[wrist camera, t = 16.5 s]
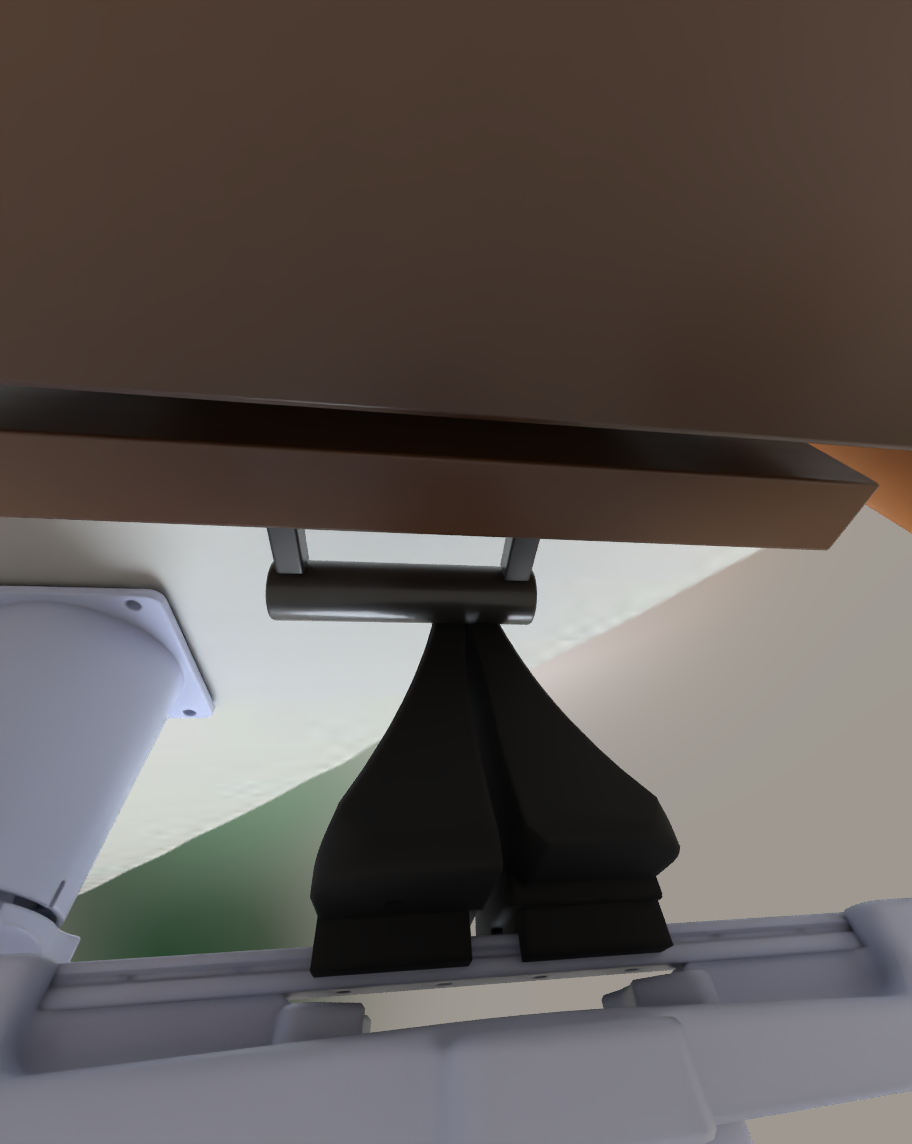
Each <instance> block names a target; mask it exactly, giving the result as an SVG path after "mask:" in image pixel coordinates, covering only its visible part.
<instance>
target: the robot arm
mask: <svg viewBox="0 0 912 1144" xmlns="http://www.w3.org/2000/svg"><path fill="white" fill-rule="evenodd" d="M214 709H215V705H214V703H213V701H212V699H211V697H210V694H209V692H208V690H207V688H206V686H205V683H204V681H203V679H202V677H201V674H200V672H199V670H198V668H197V666H196V663H195V661H194V659H193V657H192V655H191V652H190V650H189V648H188V646H187V643H186V641H185V639H184V637H183V635H182V632H181V630H180V628H179V626H178V624H177V621H176V619H175V617H174V615H173V612H172V610H171V608H170V606H169V604H168V601H167V599H166V598H165V597H164V595H163V594H161V593H160V592H158V591H155V590H151V589H123V588H82V587H41V586H0V1144H753V1142H752V1139H751V1136H750V1134H749V1131H748V1128H747V1125H746V1123H745V1120H748V1119H753V1118H759V1117H765V1116H771V1115H776V1114H782V1113H787V1112H794V1111H799V1110H805V1109H811V1108H816V1107H821V1106H828V1105H834V1104H839V1103H845V1102H851V1101H857V1100H862V1099H868V1098H874V1097H880V1096H886V1095H891V1094H897V1093H903V1092H909V1091H912V898H902V899H886V900H874V901H868V902H864V903H860V904H857V905H854V906H852V907H850V908H847V909H846V910H845V911H844V912H841V913H826V914H810V915H795V916H780V917H765V918H748V919H733V920H719V921H718V920H717V921H703V922H687V923H671V924H666V922H665V919H664V916H663V914H662V911H661V908H660V905H659V902H658V900H660V899H661V898H662V892H661V889H660V886H659V883H658V881H657V878H656V876H657V875H658V874H659V873H660V872H662V871H663V870H664V869H665V868H667V867H668V866H669V865H670V864H671V863H673V861H674V860H675V859H676V858H677V857H678V854H679V851H680V845H679V844H678V841H677V838H676V836H675V833H674V831H673V829H672V826H671V824H670V822H669V820H668V818H667V816H666V814H665V812H664V811H663V809H662V807H661V805H660V803H659V801H658V799H657V797H656V796H654V795H653V794H652V793H651V792H649V791H648V790H647V789H646V788H644V787H643V786H642V785H641V784H639V783H638V782H637V781H636V780H634V779H633V778H632V777H631V776H630V775H628V774H627V773H626V772H624V771H623V770H622V769H621V768H619V766H617V765H616V764H615V763H614V762H613V761H612V760H611V759H610V758H609V757H607V756H606V755H605V754H604V753H603V752H602V751H601V750H600V749H599V748H598V747H596V745H595V744H594V743H593V742H592V741H591V740H590V739H589V738H588V737H586V735H585V734H584V733H582V732H581V731H580V729H579V728H578V727H577V726H576V725H574V723H573V722H572V721H571V720H570V719H569V718H568V717H567V716H566V715H565V714H564V713H563V712H562V711H561V709H560V708H559V707H558V706H557V705H556V704H555V703H554V702H553V700H552V699H551V698H550V697H549V695H548V694H547V693H546V692H545V690H544V689H543V688H542V687H541V685H540V684H539V683H538V682H537V680H536V679H535V678H534V676H533V675H532V674H531V672H530V671H529V669H528V668H527V667H526V665H525V664H524V662H523V661H522V659H521V658H520V656H519V655H518V654H517V652H516V650H515V649H514V647H513V646H512V644H511V642H510V641H509V639H508V638H507V636H506V634H505V633H504V631H503V629H502V628H501V626H500V624H462V623H432V628H431V631H430V634H429V638H428V641H427V644H426V647H425V650H424V653H423V656H422V658H421V661H420V663H419V666H418V669H417V671H416V674H415V676H414V678H413V681H412V683H411V685H410V687H409V689H408V691H407V694H406V696H405V698H404V700H403V702H402V704H401V706H400V707H399V709H398V711H397V713H396V715H395V717H394V719H393V721H392V722H391V724H390V726H389V728H388V730H387V731H386V733H385V735H384V736H383V738H382V740H381V741H380V743H379V744H378V746H377V748H376V749H375V751H374V752H373V754H372V756H371V757H370V759H369V760H368V762H367V763H366V765H365V766H364V768H363V770H362V771H361V772H360V774H359V775H358V777H357V778H356V779H355V781H354V782H353V784H352V785H351V786H350V788H349V789H348V791H347V792H346V794H345V795H344V796H343V798H342V799H341V801H340V802H339V804H338V806H337V809H336V811H335V813H334V815H333V818H332V820H331V822H330V824H329V826H328V828H327V831H326V833H325V835H324V838H323V840H322V843H321V846H320V849H319V851H318V854H317V858H316V862H315V866H314V872H313V879H312V885H311V894H310V898H311V901H312V903H313V906H314V908H315V911H316V913H317V916H318V918H317V924H316V932H315V938H314V945H313V947H302V948H287V949H270V950H255V951H240V952H224V953H209V954H193V955H179V956H163V957H148V958H132V959H116V960H101V961H85V962H71V963H69V962H70V960H71V958H72V956H73V954H74V952H75V950H76V948H77V945H78V943H79V941H80V937H79V936H75V935H71V934H68V933H66V932H63V931H61V930H60V929H58V928H60V927H61V926H62V925H63V923H64V920H65V919H66V916H67V915H68V913H69V911H70V909H71V907H72V905H73V903H74V901H75V899H76V897H77V895H78V893H79V891H80V889H81V887H82V885H83V883H84V881H85V879H86V877H87V875H88V873H89V871H90V869H91V868H92V866H93V864H94V862H95V860H96V858H97V856H98V854H99V852H100V850H101V848H102V846H103V844H104V842H105V840H106V838H107V836H108V834H109V832H110V830H111V828H112V826H113V824H114V822H115V820H116V818H117V816H118V814H119V812H120V810H121V808H122V806H123V804H124V802H125V800H126V799H127V797H128V795H129V793H130V791H131V789H132V787H133V785H134V783H135V781H136V779H137V777H138V775H139V773H140V771H141V769H142V767H143V765H144V763H145V761H146V759H147V757H148V755H149V753H150V751H151V749H152V747H153V745H154V743H155V741H156V739H157V737H158V735H159V733H160V731H161V730H162V728H163V726H164V724H165V722H166V720H167V718H207V717H210V716H211V715H212V714H213V712H214ZM474 917H475V918H476V936H471V931H470V925H471V923H472V921H473V919H474ZM664 970H673V972H672V973H671V974H665V975H659V976H654V977H648V978H642V979H636V980H633V981H632V983H631V984H630V985H629V986H627V987H625V988H623V989H621V990H618V991H615V992H612V993H609V994H606V995H604V996H603V998H602V1003H603V1007H604V1009H591V1010H577V1011H564V1012H552V1013H541V1014H530V1015H519V1016H509V1017H499V1018H489V1019H480V1020H472V1021H463V1022H454V1023H446V1024H438V1025H430V1026H422V1027H414V1028H406V1029H397V1030H390V1031H381V1032H373V1033H370V1026H371V1020H370V1018H369V1017H368V1016H367V1015H364V1013H365V1012H364V1011H365V1008H364V1006H363V1005H362V1003H332V1002H327V1003H326V1002H306V1003H296V1004H291V1003H290V1002H289V1001H288V1000H293V999H306V998H318V997H331V996H344V995H357V994H370V993H383V992H395V991H408V990H420V989H433V988H446V987H459V986H471V985H485V984H498V983H510V982H523V981H536V980H549V979H560V978H574V977H587V976H600V975H613V974H625V973H638V972H651V971H664Z"/></svg>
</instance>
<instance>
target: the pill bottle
mask: <svg viewBox="0 0 912 1144" xmlns="http://www.w3.org/2000/svg"><path fill="white" fill-rule="evenodd" d="M808 444H810V445H812V446H813V447H815V448H817V449H819V450H820V451H822V452H824V453H826V454H827V455H829V456H831V457H833V458H835V459H836V460H838V461H840V462H842V463H843V464H845V465H847V466H849V467H850V468H852V469H854V470H856V471H857V472H859V473H861V474H863V475H865V476H866V477H868V478H870V479H872V480H873V481H875V482H877V483H878V484H879V487H878V489H877V490H876V491H875V492H874V494H873V495H872V496H871V497H870V499H869V500H868V501H867V502H866V505H867V506H869V507H870V508H872V509H874V510H875V511H877V512H878V513H880V514H882V515H883V516H885V517H886V518H888V519H889V520H891V521H893V522H894V523H896V524H897V525H899V526H900V527H902V528H904V529H905V530H907V531H908V532H910V533H912V451H910V450H896V449H882V448H868V447H854V446H840V445H827V444H813V443H808Z"/></svg>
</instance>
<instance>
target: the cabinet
mask: <svg viewBox="0 0 912 1144" xmlns="http://www.w3.org/2000/svg"><path fill="white" fill-rule="evenodd" d="M0 385H8V386H22V387H36V388H50V389H64V390H78V391H91V392H105V393H119V394H133V395H147V396H161V397H175V398H189V399H202V400H216V401H230V402H244V403H258V404H272V405H286V406H300V407H313V408H327V409H341V410H355V411H369V412H383V413H397V414H410V415H424V416H438V417H452V418H466V419H480V420H494V421H508V422H521V423H535V424H549V425H563V426H577V427H591V428H605V429H619V430H632V431H646V432H660V433H674V434H688V435H702V436H716V437H730V438H743V439H757V440H771V441H785V442H799V443H813V444H827V445H840V446H854V447H868V448H882V449H896V450H910V451H912V0H0Z"/></svg>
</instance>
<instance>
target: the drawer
mask: <svg viewBox="0 0 912 1144" xmlns="http://www.w3.org/2000/svg"><path fill="white" fill-rule="evenodd" d="M878 487H879V484H878V483H877V482H875V481H873V480H872V479H870V478H868V477H866V476H865V475H863V474H861V473H859V472H857V471H856V470H854V469H852V468H850V467H849V466H847V465H845V464H843V463H842V462H840V461H838V460H836V459H835V458H833V457H831V456H829V455H827V454H826V453H824V452H822V451H820V450H819V449H817V448H815V447H813V446H812V445H810V444H808V443H799V442H785V441H771V440H757V439H743V438H730V437H716V436H702V435H688V434H674V433H660V432H646V431H632V430H619V429H605V428H591V427H577V426H563V425H549V424H535V423H521V422H508V421H494V420H480V419H466V418H452V417H438V416H424V415H410V414H397V413H383V412H369V411H355V410H341V409H327V408H313V407H300V406H286V405H272V404H258V403H244V402H230V401H216V400H202V399H189V398H175V397H161V396H147V395H133V394H119V393H105V392H91V391H78V390H64V389H50V388H36V387H22V386H8V385H0V517H20V518H44V519H69V520H93V521H118V522H143V523H167V524H192V525H216V526H241V527H265V528H267V532H268V536H269V541H270V545H271V550H272V554H273V559H274V562H273V563H272V564H271V566H270V569H269V572H268V576H267V582H266V605H267V610H268V613H269V616H270V617H271V619H273V620H288V621H346V622H404V623H462V624H520V625H528V624H530V623H531V622H532V620H533V618H534V615H535V610H536V603H537V586H536V580H535V576H534V573H533V571H532V566H533V563H534V559H535V555H536V551H537V548H538V544H539V540H540V539H560V540H584V541H609V542H633V543H658V544H682V545H707V546H731V547H756V548H781V549H806V550H827V549H829V548H830V547H831V546H832V545H833V543H834V542H835V541H836V540H837V539H838V537H839V536H840V535H841V533H842V532H843V531H844V530H845V529H846V527H847V526H848V525H849V524H850V522H851V521H852V520H853V518H854V517H855V516H856V515H857V513H858V512H859V511H860V510H861V508H862V507H863V506H864V505H865V504H866V502H867V501H868V500H869V499H870V497H871V496H872V495H873V494H874V492H875V491H876V490H877V489H878ZM304 529H314V530H339V531H363V532H388V533H412V534H437V535H462V536H486V537H506V540H505V545H504V550H503V555H502V560H501V564H500V565H501V567H497V566H467V565H436V564H406V563H375V562H345V561H314V560H308V559H309V556H308V550H307V543H306V536H305V530H304Z"/></svg>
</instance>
